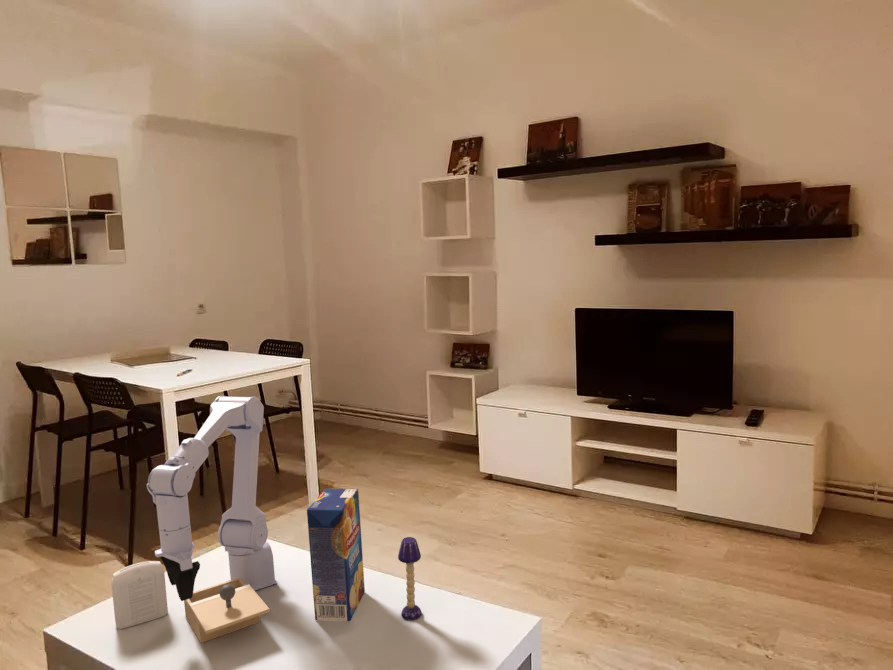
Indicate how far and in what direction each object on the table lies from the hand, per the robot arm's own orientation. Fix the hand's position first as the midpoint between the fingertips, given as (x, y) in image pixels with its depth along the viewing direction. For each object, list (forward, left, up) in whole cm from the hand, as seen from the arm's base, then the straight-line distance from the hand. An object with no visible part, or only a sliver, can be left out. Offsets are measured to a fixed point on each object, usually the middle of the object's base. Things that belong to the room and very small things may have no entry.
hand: (181, 590), depth 133 cm
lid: (-8, +3, -5) cm, 10 cm away
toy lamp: (-40, +21, -11) cm, 46 cm away
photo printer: (+6, -14, -11) cm, 18 cm away
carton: (-8, -3, -10) cm, 13 cm away
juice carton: (-30, +8, -11) cm, 33 cm away
